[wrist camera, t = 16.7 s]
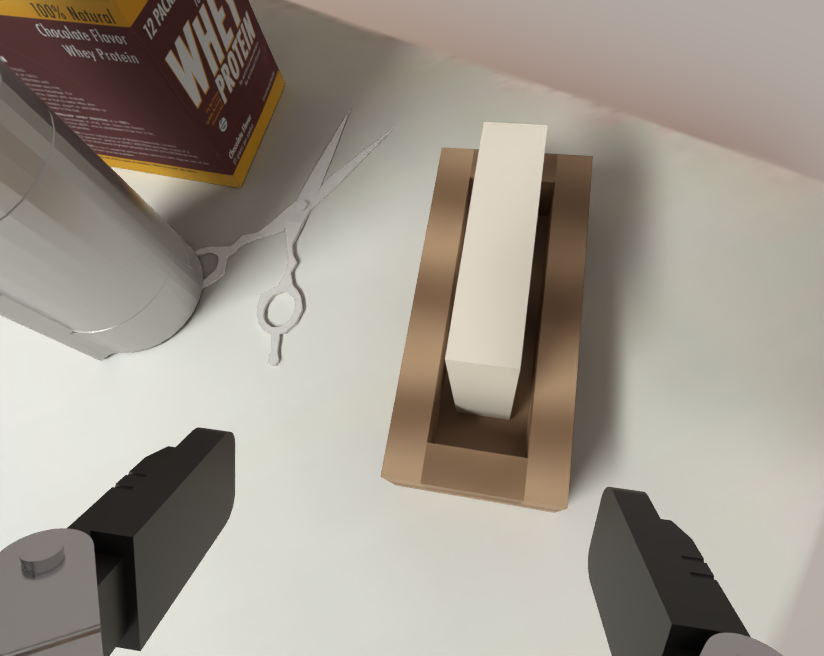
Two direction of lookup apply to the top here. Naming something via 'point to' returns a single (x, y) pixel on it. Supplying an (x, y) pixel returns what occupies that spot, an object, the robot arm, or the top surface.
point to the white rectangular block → (496, 270)
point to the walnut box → (540, 364)
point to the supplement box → (150, 79)
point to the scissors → (290, 236)
